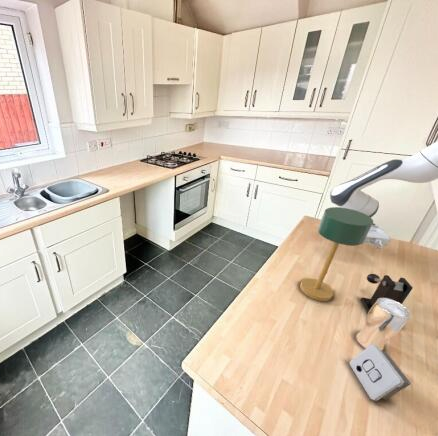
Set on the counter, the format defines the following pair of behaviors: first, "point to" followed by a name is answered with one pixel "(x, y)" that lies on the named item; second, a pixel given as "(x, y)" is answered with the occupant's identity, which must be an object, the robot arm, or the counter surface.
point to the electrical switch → (378, 373)
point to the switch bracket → (388, 292)
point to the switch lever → (375, 279)
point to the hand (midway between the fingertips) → (364, 245)
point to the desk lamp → (336, 244)
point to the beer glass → (383, 322)
